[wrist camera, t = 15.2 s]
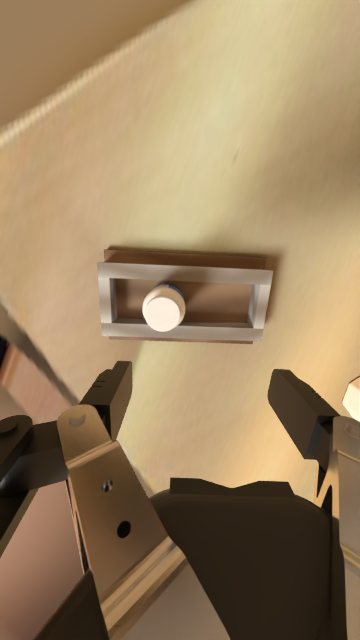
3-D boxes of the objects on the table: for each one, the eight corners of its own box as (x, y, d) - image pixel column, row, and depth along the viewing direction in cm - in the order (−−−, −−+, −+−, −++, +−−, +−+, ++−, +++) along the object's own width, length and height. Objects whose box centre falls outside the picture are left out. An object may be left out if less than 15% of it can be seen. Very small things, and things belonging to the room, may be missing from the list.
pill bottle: (188, 310, 32) (193, 330, 23) (156, 320, 32) (149, 345, 23) (176, 277, 31) (177, 284, 21) (143, 288, 31) (130, 300, 22)
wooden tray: (106, 249, 30) (96, 248, 26) (263, 257, 31) (275, 257, 27) (110, 336, 34) (102, 346, 30) (250, 341, 35) (259, 351, 31)
